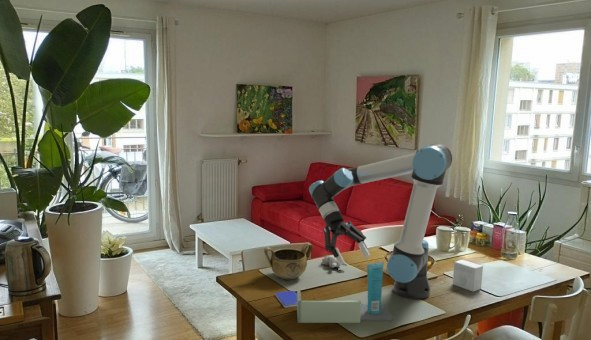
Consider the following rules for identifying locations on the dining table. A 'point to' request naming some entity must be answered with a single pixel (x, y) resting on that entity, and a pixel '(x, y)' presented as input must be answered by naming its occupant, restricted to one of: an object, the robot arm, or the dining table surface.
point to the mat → (382, 316)
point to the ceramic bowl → (289, 261)
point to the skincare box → (467, 275)
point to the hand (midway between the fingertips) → (355, 260)
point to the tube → (374, 287)
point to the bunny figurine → (331, 261)
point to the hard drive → (287, 298)
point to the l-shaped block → (327, 311)
